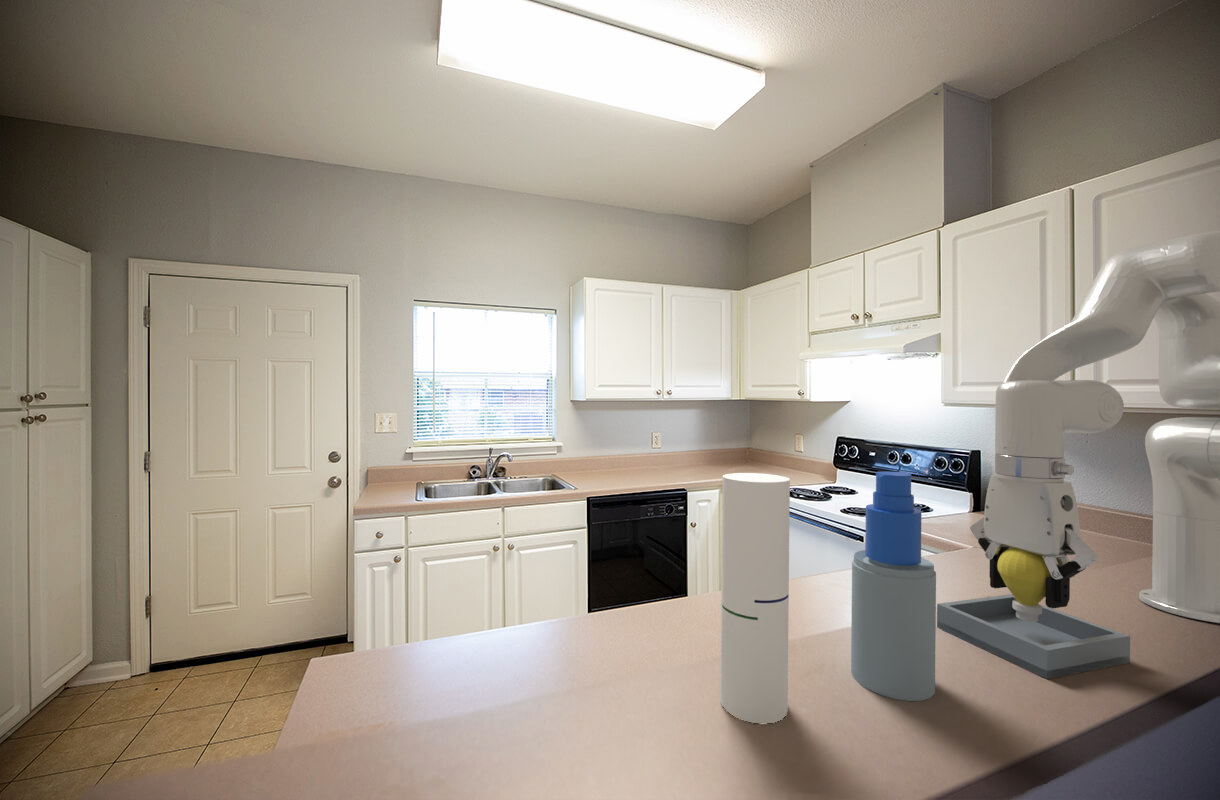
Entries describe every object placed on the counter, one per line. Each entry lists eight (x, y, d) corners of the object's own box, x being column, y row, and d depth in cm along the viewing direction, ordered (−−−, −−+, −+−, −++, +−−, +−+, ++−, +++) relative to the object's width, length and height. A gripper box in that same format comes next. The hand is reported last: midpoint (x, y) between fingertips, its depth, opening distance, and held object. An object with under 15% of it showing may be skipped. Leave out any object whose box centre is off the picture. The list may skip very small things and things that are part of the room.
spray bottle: (910, 662, 66) (912, 468, 66) (952, 703, 57) (954, 478, 58) (839, 659, 67) (841, 467, 67) (869, 699, 58) (872, 477, 58)
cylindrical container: (796, 725, 53) (799, 482, 53) (727, 723, 53) (729, 481, 53) (776, 687, 60) (778, 473, 60) (714, 685, 60) (717, 472, 61)
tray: (1010, 616, 81) (1011, 594, 81) (1129, 662, 67) (1130, 635, 67) (936, 627, 77) (937, 603, 77) (1047, 679, 63) (1047, 650, 63)
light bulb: (986, 607, 76) (986, 539, 76) (1035, 610, 75) (1036, 541, 75) (1017, 627, 69) (1017, 552, 69) (1071, 630, 68) (1072, 554, 68)
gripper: (1123, 476, 65) (1122, 618, 65) (987, 461, 81) (986, 574, 81) (1081, 478, 63) (1080, 625, 63) (950, 462, 79) (949, 578, 79)
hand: (1027, 595), depth 72 cm, fingers closed on light bulb, 6 cm apart
